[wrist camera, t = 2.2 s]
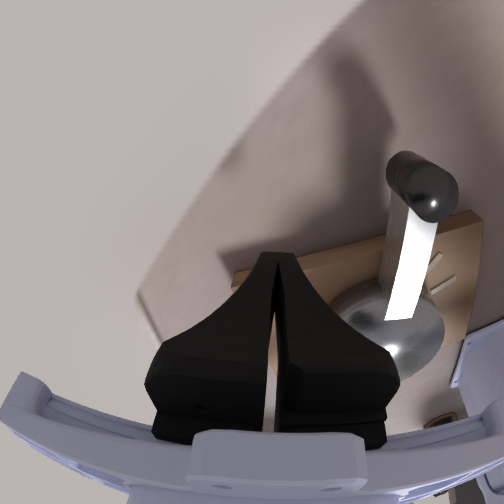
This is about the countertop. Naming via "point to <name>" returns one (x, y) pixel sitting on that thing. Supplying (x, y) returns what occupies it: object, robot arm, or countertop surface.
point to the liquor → (466, 493)
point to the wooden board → (435, 281)
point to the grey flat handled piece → (404, 267)
